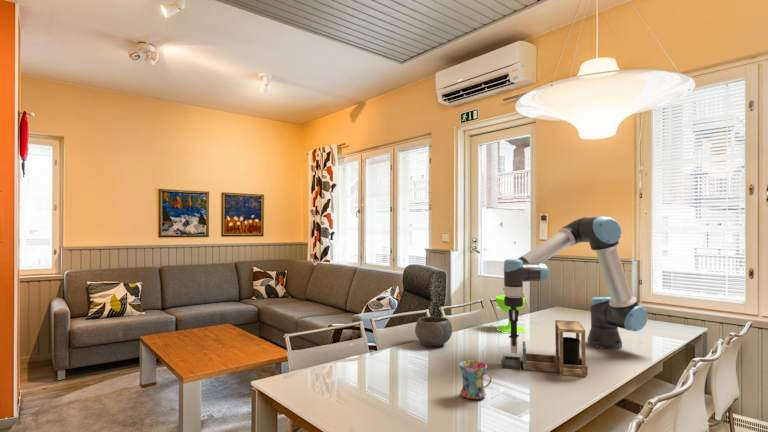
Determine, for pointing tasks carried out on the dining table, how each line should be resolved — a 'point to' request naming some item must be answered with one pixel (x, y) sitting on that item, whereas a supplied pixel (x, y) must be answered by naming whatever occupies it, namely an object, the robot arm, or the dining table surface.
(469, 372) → the mug
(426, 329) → the bowl
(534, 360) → the sled
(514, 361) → the tray
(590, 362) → the dining table surface
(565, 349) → the cup
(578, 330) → the brown wooden frame
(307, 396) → the dining table surface
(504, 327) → the wineglass
